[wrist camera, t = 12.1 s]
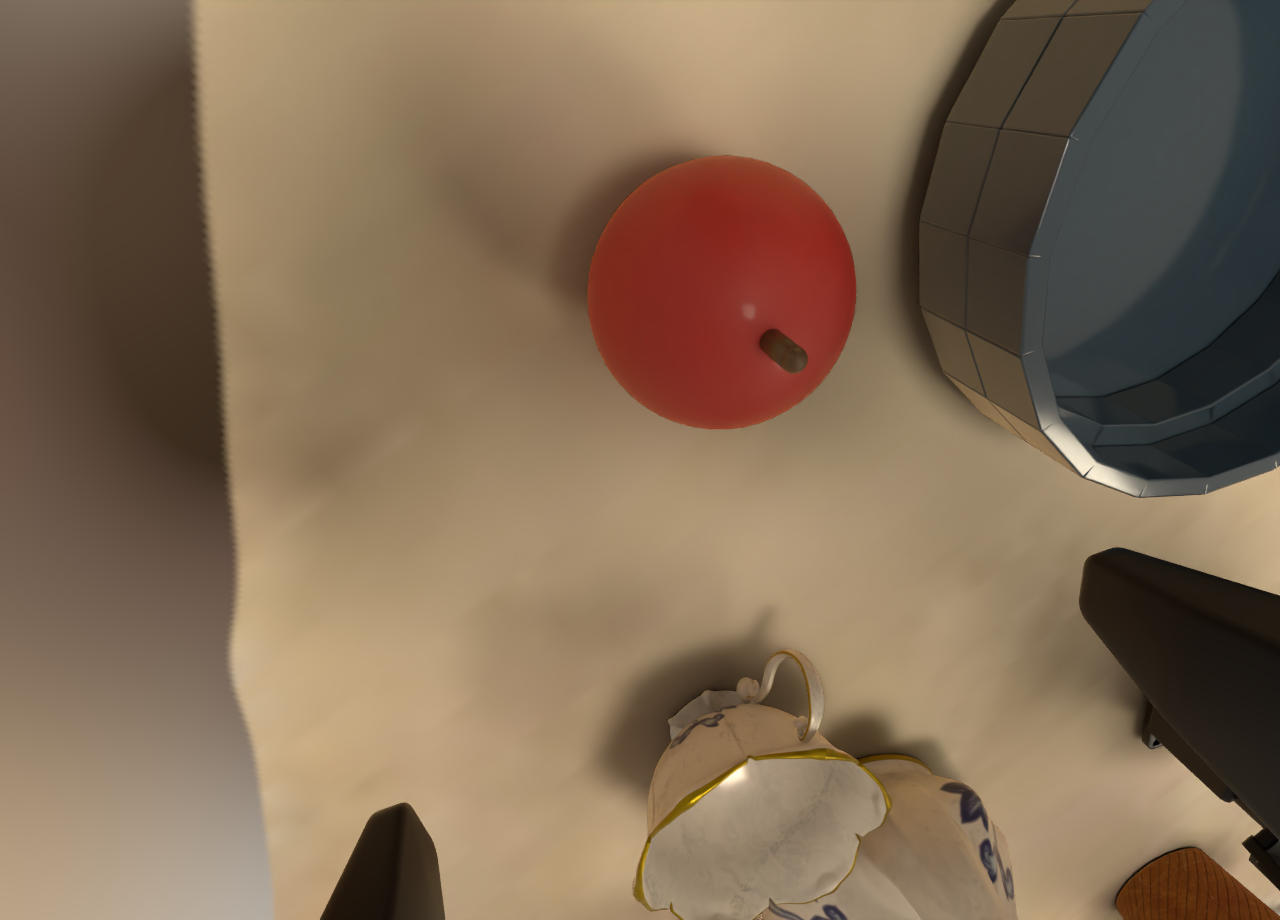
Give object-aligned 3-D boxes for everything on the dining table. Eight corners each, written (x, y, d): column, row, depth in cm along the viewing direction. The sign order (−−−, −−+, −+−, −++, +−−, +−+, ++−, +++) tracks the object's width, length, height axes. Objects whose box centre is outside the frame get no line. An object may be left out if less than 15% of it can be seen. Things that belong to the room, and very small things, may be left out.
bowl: (1443, -197, 19) (1742, -271, 14) (1290, 349, 27) (1455, 406, 22) (896, -66, 17) (1053, -104, 13) (906, 477, 25) (1005, 565, 21)
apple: (774, 114, 18) (953, 145, 12) (796, 338, 21) (948, 454, 15) (538, 177, 17) (601, 244, 11) (597, 398, 21) (671, 546, 14)
